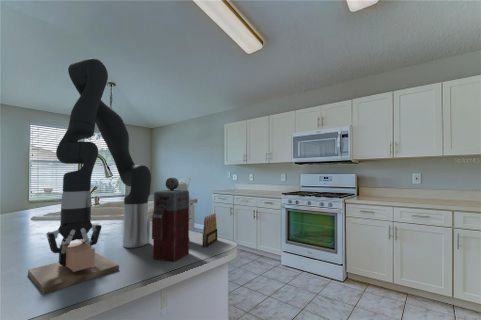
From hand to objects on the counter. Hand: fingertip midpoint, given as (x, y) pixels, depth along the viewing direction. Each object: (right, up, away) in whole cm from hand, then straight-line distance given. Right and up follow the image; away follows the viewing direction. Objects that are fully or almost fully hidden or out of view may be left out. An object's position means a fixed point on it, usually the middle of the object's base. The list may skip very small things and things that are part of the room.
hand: (74, 262), depth 70 cm
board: (0, -3, 0) cm, 3 cm away
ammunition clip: (+37, -4, +28) cm, 47 cm away
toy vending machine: (+25, -4, +12) cm, 28 cm away
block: (+6, +3, -5) cm, 9 cm away
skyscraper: (+24, -5, +30) cm, 39 cm away
